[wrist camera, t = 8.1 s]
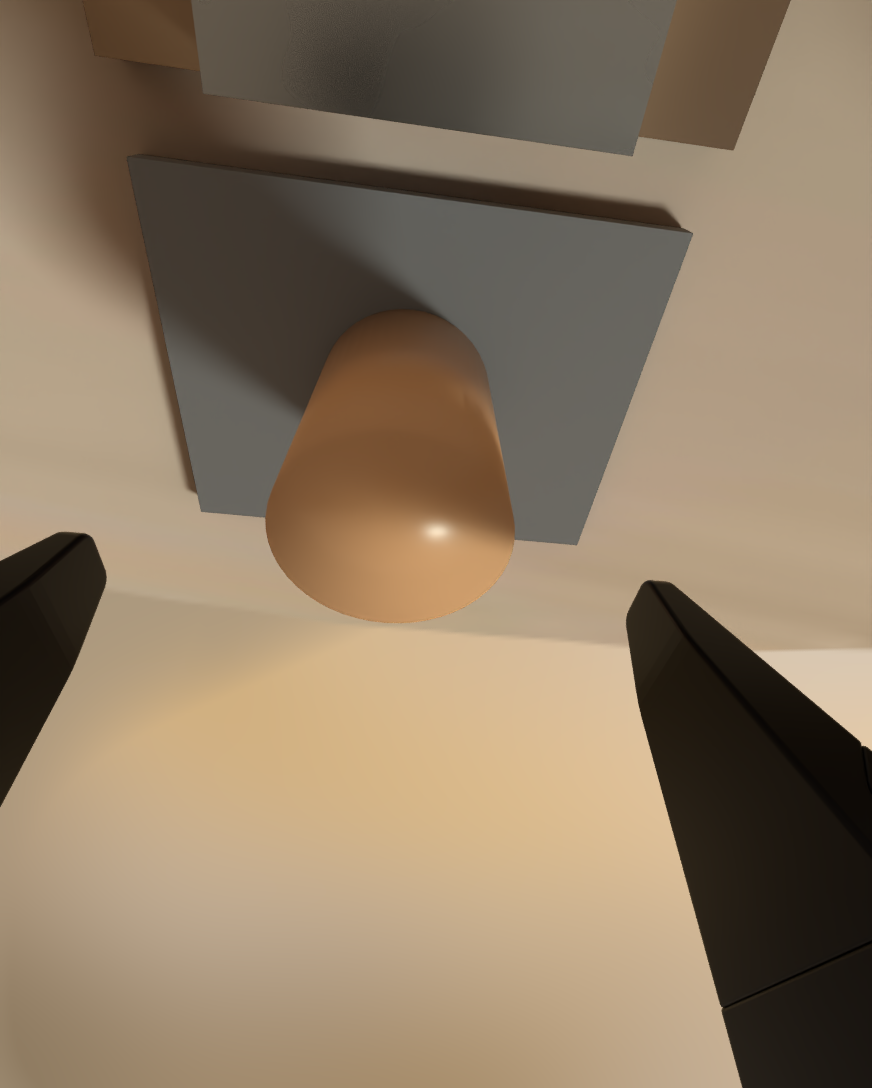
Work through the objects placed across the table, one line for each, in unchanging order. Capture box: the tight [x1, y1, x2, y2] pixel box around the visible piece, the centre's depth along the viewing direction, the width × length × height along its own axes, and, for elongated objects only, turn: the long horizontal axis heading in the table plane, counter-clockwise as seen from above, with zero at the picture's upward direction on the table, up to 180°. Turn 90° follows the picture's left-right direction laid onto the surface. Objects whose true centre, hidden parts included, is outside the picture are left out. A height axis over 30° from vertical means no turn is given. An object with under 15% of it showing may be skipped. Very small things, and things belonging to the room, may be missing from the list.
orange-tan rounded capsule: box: [265, 309, 515, 623], centre depth 12 cm, size 4×4×6 cm
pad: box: [127, 154, 693, 545], centre depth 14 cm, size 12×9×1 cm
